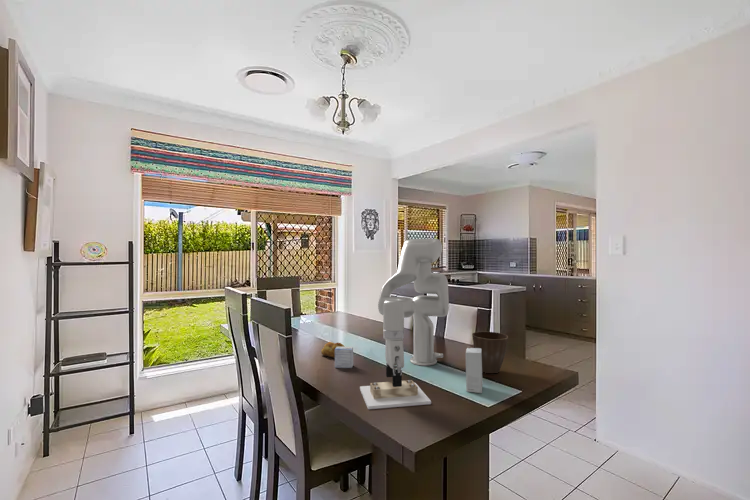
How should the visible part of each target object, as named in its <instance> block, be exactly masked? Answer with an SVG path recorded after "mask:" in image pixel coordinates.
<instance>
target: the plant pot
mask: <svg viewBox="0 0 750 500" xmlns="http://www.w3.org/2000/svg"><path fill="white" fill-rule="evenodd" d="M471 336H472V341H473V342H472V343H473V348H481V349H482V373H483V372H485V373H484V374H486V373H498V372H500V370H501V367H502V364H503V361H504V359H505V355H506V352H507V346H508V341H509V340H508V339H509V336H508V335H507V334H504V333H502V332H495V331H475V332H472V335H471ZM498 374H499V373H498Z"/></svg>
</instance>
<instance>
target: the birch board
mask: <svg viewBox="0 0 750 500" xmlns="http://www.w3.org/2000/svg"><path fill="white" fill-rule="evenodd" d="M408 380H410V383H408ZM408 380H402V386H400V387H393V385H392V381H382V382H369V384H370V385H369V386H370V392H371V394H372V396H373V398H374V399H379V398H391V397H404V396H416V395H418V387H417V385H418V384H417V383H416V382H414V381H413V380H412V379H408ZM374 383H376V385H374ZM415 383H416V384H417V385H416V384H415ZM411 384H414V387H411ZM376 387H378V389H376Z"/></svg>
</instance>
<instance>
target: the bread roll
mask: <svg viewBox="0 0 750 500" xmlns="http://www.w3.org/2000/svg"><path fill="white" fill-rule="evenodd" d="M336 347H346V345H344V344H342V343H341V342H336V343H334V342H333V341H329V342H327V343H325V344H324V346H323V348H322V349H321V351H320V352H321V355H322V356H323V357H324V356H325V357H328V358H331V359H335V348H336Z"/></svg>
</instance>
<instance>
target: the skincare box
mask: <svg viewBox="0 0 750 500" xmlns="http://www.w3.org/2000/svg"><path fill="white" fill-rule="evenodd" d="M465 383H466V384H465V385H466V392H468V393H469V392H471V393H476V394H482V393H483V385H484V384H483V372H482V349H481V348H474V347H467V348H466V349H465Z"/></svg>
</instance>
